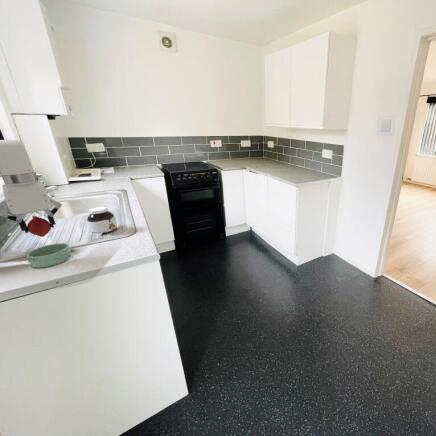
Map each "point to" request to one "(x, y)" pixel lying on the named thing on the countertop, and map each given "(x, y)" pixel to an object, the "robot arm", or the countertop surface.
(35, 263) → the green shallow round dish
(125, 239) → the countertop surface
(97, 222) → the spread jar
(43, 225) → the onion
